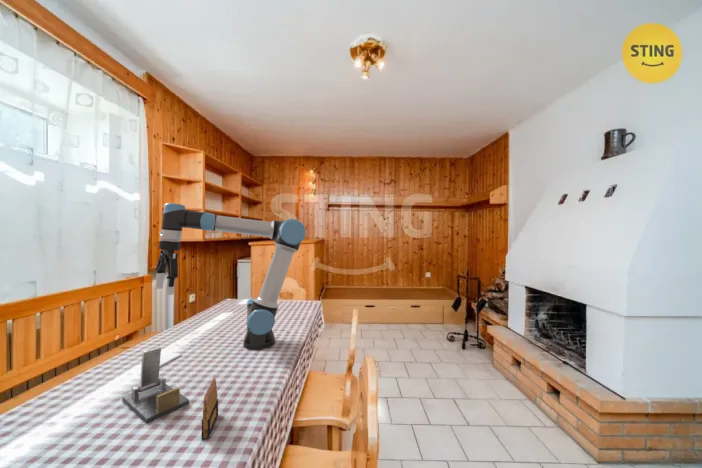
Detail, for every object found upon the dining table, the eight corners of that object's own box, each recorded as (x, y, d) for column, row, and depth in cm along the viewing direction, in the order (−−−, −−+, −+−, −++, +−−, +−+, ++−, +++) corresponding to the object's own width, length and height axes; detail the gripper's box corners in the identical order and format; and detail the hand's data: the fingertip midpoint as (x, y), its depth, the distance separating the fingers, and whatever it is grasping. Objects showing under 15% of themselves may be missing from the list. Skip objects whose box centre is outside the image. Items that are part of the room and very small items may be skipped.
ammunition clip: (211, 415, 89) (211, 376, 89) (218, 414, 89) (218, 375, 89) (201, 439, 78) (201, 395, 78) (208, 438, 79) (208, 394, 79)
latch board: (122, 401, 96) (122, 381, 96) (162, 385, 106) (162, 367, 106) (146, 424, 85) (146, 401, 85) (189, 404, 95) (189, 384, 95)
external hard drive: (181, 357, 132) (158, 369, 120) (166, 355, 133) (141, 368, 121) (181, 353, 132) (158, 366, 120) (166, 352, 133) (141, 364, 121)
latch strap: (137, 391, 97) (140, 351, 95) (157, 383, 101) (160, 345, 100) (139, 394, 95) (142, 353, 94) (160, 386, 100) (163, 348, 99)
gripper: (151, 237, 127) (144, 286, 126) (170, 242, 110) (162, 298, 109) (170, 239, 132) (164, 285, 131) (191, 243, 116) (184, 296, 115)
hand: (163, 291), depth 120 cm, fingers open, 13 cm apart
